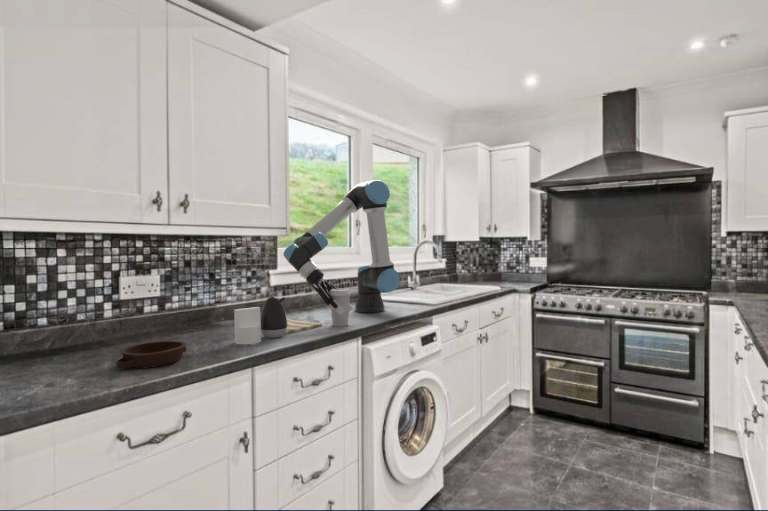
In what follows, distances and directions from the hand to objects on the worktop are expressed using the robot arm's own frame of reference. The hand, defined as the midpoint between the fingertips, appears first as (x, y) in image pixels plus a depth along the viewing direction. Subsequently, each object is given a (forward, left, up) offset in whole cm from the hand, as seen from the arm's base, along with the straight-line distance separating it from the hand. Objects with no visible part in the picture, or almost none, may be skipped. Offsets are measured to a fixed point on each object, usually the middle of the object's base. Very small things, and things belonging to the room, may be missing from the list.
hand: (347, 311), depth 192 cm
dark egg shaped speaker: (+33, -8, -6) cm, 35 cm away
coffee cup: (+1, -3, -6) cm, 7 cm away
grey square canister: (+44, -9, -6) cm, 45 cm away
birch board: (+17, -18, -6) cm, 25 cm away
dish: (+77, -10, -6) cm, 78 cm away
